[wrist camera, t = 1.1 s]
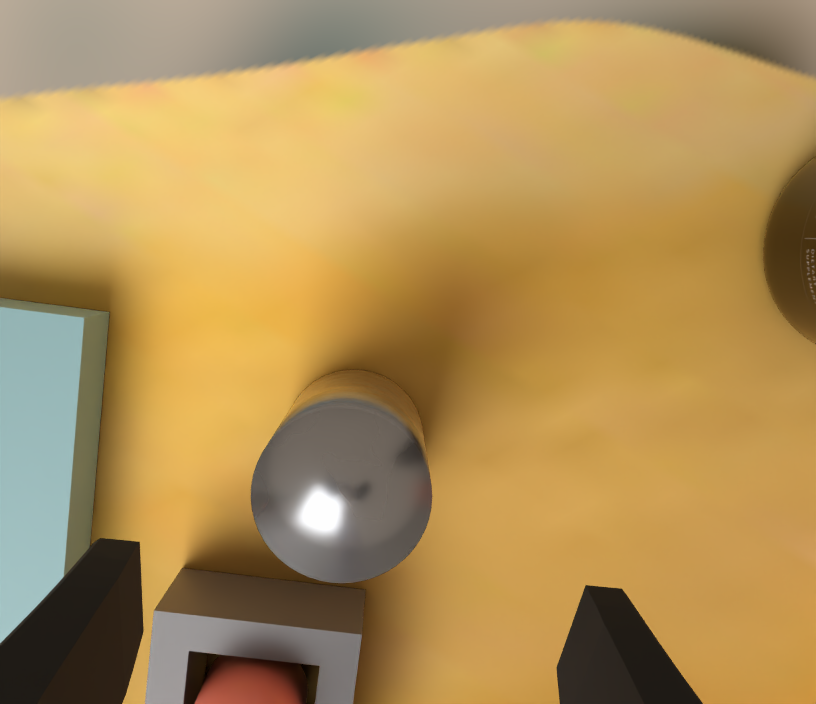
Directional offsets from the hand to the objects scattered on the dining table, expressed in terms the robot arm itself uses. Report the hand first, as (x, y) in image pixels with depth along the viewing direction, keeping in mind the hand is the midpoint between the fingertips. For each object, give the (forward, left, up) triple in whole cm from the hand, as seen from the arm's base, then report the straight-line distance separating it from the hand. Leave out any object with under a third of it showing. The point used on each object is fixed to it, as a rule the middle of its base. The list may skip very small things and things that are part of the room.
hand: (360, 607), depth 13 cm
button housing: (-8, +3, -12) cm, 15 cm away
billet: (0, +1, -12) cm, 12 cm away
